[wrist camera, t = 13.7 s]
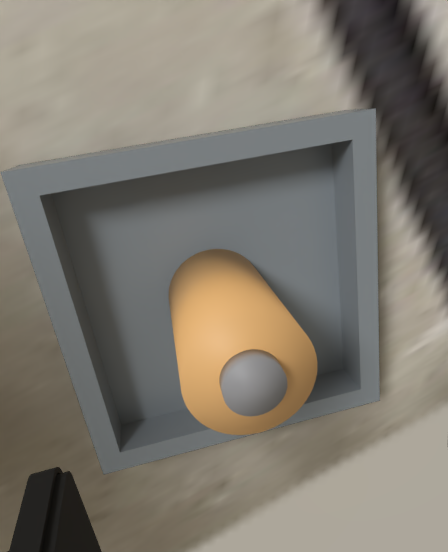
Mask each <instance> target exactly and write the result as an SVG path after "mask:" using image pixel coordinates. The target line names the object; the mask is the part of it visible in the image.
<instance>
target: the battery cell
mask: <svg viewBox="0 0 448 552" xmlns="http://www.w3.org/2000/svg"><path fill="white" fill-rule="evenodd" d="M169 305H170V313H171V320H172V327H173V335H174V342H175V349H176V356H177V364H178V371H179V378H180V386H181V393H182V396H183V400H184V402H185V404H186V406H187V408H188V410H189V411H190V413H191V414H192V415H193V416H194V417H195V418H196V419H197V420H198V421H199V422H200V423H202V424H203V425H205V426H206V427H208V428H210V429H212V430H215V431H217V432H221V433H224V434H231V435H250V434H255V433H260V432H263V431H266V430H269V429H271V428H274V427H276V426H278V425H280V424H281V423H283V422H284V421H286V420H287V419H289V418H290V417H291V416H293V415H294V414H295V413H296V412H297V411H298V410H299V409H300V408H301V407H302V405H303V404H304V403H305V402H306V400H307V398H308V397H309V395H310V393H311V391H312V389H313V387H314V384H315V380H316V376H317V356H316V352H315V349H314V346H313V344H312V342H311V340H310V339H309V337H308V336H307V335H306V333H305V332H304V331H303V329H302V328H301V327H300V325H299V324H298V323H297V322H296V320H295V319H294V318H293V316H292V315H291V314H290V313H289V311H288V310H287V309H286V307H285V306H284V305H283V303H282V302H281V301H280V300H279V298H278V297H277V296H276V294H275V293H274V292H273V290H272V289H271V288H270V287H269V285H268V284H267V283H266V281H265V280H264V279H263V277H262V276H261V275H260V274H259V272H258V271H257V270H256V268H255V267H254V266H253V265H252V263H251V262H250V261H249V260H247V259H246V258H245V257H244V256H242V255H240V254H238V253H236V252H234V251H230V250H226V249H210V250H205V251H202V252H199V253H197V254H195V255H193V256H191V257H190V258H188V259H187V260H186V261H184V262H183V263H182V264H181V265H180V267H179V268H178V269H177V270H176V272H175V274H174V275H173V277H172V280H171V283H170V286H169Z"/></svg>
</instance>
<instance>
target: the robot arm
mask: <svg viewBox="0 0 448 552" xmlns="http://www.w3.org/2000/svg"><path fill="white" fill-rule="evenodd" d="M8 552H101V549H100V546H99V544H98V541H97V539H96V536H95V533H94V531H93V528H92V526H91V523H90V520H89V518H88V515H87V513H86V510H85V507H84V505H83V502H82V500H81V497H80V494H79V492H78V489H77V487H76V484H75V481H74V479H73V476H72V474H71V472H70V471H68V472H64V473H63V472H62V470H61V469H60V468H59V467H56V468H52V469H49V470H45V471H42V472H38V473H34V474H31V475H30V476H29V479H28V481H27V485H26V489H25V493H24V497H23V501H22V504H21V508H20V512H19V516H18V520H17V523H16V527H15V531H14V535H13V539H12V543H11V546H10V550H9V551H8Z"/></svg>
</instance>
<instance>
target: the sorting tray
mask: <svg viewBox="0 0 448 552" xmlns="http://www.w3.org/2000/svg"><path fill="white" fill-rule="evenodd" d="M1 175H2V178H3V181H4V184H5V187H6V190H7V193H8V196H9V199H10V201H11V204H12V207H13V210H14V213H15V216H16V219H17V222H18V225H19V228H20V231H21V234H22V237H23V240H24V243H25V245H26V248H27V251H28V254H29V257H30V260H31V263H32V266H33V269H34V272H35V275H36V278H37V281H38V284H39V287H40V289H41V292H42V295H43V298H44V301H45V304H46V307H47V310H48V313H49V316H50V319H51V322H52V325H53V328H54V331H55V333H56V336H57V339H58V342H59V345H60V348H61V351H62V354H63V357H64V360H65V363H66V366H67V369H68V372H69V375H70V377H71V380H72V383H73V386H74V389H75V392H76V395H77V398H78V401H79V404H80V407H81V410H82V413H83V416H84V419H85V421H86V424H87V427H88V430H89V433H90V436H91V439H92V442H93V445H94V448H95V451H96V454H97V457H98V460H99V463H100V465H101V468H102V471H103V474H108V473H111V472H115V471H119V470H123V469H126V468H130V467H134V466H137V465H141V464H145V463H149V462H152V461H156V460H160V459H164V458H167V457H171V456H175V455H178V454H182V453H186V452H190V451H193V450H197V449H201V448H205V447H208V446H212V445H216V444H219V443H223V442H227V441H231V440H234V439H238V438H242V437H246V436H249V435H231V434H224V433H221V432H217V431H215V430H212V429H210V428H208V427H206V426H205V425H203V424H202V423H200V422H199V421H198V420H197V419H196V418H195V417H194V416H193V415H192V414H191V413H190V411H189V410H188V408H187V406H186V404H185V402H184V400H183V396H182V393H181V386H180V378H179V371H178V364H177V356H176V349H175V342H174V335H173V327H172V320H171V313H170V305H169V286H170V283H171V280H172V277H173V275H174V274H175V272H176V270H177V269H178V268H179V267H180V265H181V264H182V263H183V262H184V261H186V260H187V259H188V258H190V257H191V256H193V255H195V254H197V253H199V252H202V251H205V250H210V249H226V250H230V251H234V252H236V253H238V254H240V255H242V256H244V257H245V258H246V259H247V260H249V261H250V262H251V263H252V265H253V266H254V267H255V268H256V270H257V271H258V272H259V274H260V275H261V276H262V277H263V279H264V280H265V281H266V283H267V284H268V285H269V287H270V288H271V289H272V290H273V292H274V293H275V294H276V296H277V297H278V298H279V300H280V301H281V302H282V303H283V305H284V306H285V307H286V309H287V310H288V311H289V313H290V314H291V315H292V316H293V318H294V319H295V320H296V322H297V323H298V324H299V325H300V327H301V328H302V329H303V331H304V332H305V333H306V335H307V336H308V337H309V339H310V340H311V342H312V344H313V346H314V349H315V352H316V356H317V376H316V380H315V384H314V387H313V389H312V391H311V393H310V395H309V397H308V398H307V400H306V402H305V403H304V404H303V405H302V407H301V408H300V409H299V410H298V411H297V412H296V413H295V414H294V415H293V416H291V417H290V418H289V419H287V420H286V421H284V422H283V423H281V424H280V425H278V426H276V427H274V428H271V429H269V430H272V429H275V428H279V427H283V426H286V425H290V424H294V423H298V422H301V421H305V420H309V419H313V418H316V417H320V416H324V415H327V414H331V413H335V412H339V411H342V410H346V409H350V408H354V407H357V406H361V405H365V404H368V403H372V402H376V401H380V388H379V315H378V242H377V169H376V109H357V110H344V111H338V112H332V113H326V114H320V115H314V116H308V117H302V118H296V119H290V120H284V121H278V122H272V123H266V124H260V125H255V126H249V127H243V128H237V129H231V130H225V131H219V132H213V133H207V134H201V135H195V136H189V137H183V138H177V139H171V140H166V141H160V142H154V143H148V144H142V145H136V146H130V147H124V148H118V149H112V150H106V151H100V152H94V153H88V154H83V155H77V156H71V157H65V158H59V159H53V160H47V161H41V162H35V163H29V164H23V165H18V166H16V167H13V168H10V169H8V170H5V171H2V172H1ZM266 431H268V430H266ZM263 432H264V431H263ZM255 434H257V433H255ZM250 435H253V434H250Z"/></svg>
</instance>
